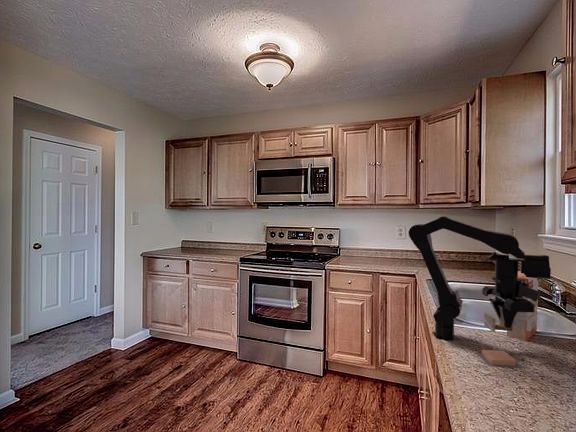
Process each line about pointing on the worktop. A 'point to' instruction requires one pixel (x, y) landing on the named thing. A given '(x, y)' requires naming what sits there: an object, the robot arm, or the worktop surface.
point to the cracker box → (525, 314)
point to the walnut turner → (490, 323)
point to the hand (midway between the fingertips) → (505, 326)
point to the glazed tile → (498, 357)
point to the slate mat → (499, 365)
